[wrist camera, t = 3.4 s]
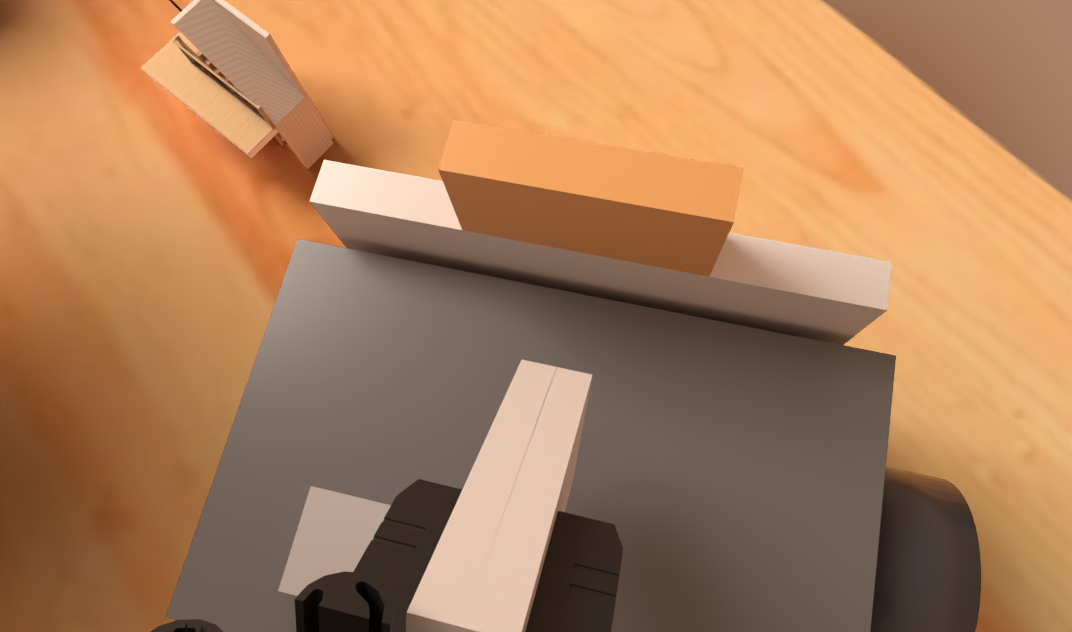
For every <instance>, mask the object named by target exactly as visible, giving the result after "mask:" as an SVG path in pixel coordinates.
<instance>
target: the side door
mask: <svg viewBox="0 0 1072 632" xmlns="http://www.w3.org/2000/svg"><path fill="white" fill-rule="evenodd" d="M438 170H439V173H440V175H441V178H442V180H443V181H440V180H435V179H429V178H424V177H418V176H412V175H407V174H401V173H396V172H390V171H385V170H379V169H374V168H368V167H362V166H357V165H351V164H346V163H340V162H335V161H329V160H324V161H323V164H322V167H321V169H320V172H319V175H318V178H317V181H316V184H315V186H314V189H313V192H312V195H311V198H310V201H309V202H310V203H311V204H312V205H313V207H314V208H315V209H316V210H317V212H318V213H319V214H320V215H321V217H322V218H323V219H324V220H325V222H326V223H327V224H328V225H329V227H330V228H331V229H332V230H333V231H334V233H335V234H336V235H337V236H338V238H339V239H340V240H341V241H342V243H343V244H344V245H345V246H346V248H348V249H354V250H359V251H364V252H369V253H374V254H379V255H384V256H389V257H394V258H399V259H405V260H410V261H415V262H420V263H425V264H430V265H435V266H440V267H445V268H450V269H456V270H461V271H466V272H471V273H476V274H481V275H486V276H491V277H496V278H502V279H507V280H512V281H517V282H522V283H527V284H532V285H537V286H542V287H547V288H553V289H558V290H563V291H568V292H573V293H578V294H583V295H588V296H593V297H598V298H604V299H609V300H614V301H619V302H624V303H629V304H634V305H639V306H644V307H650V308H655V309H660V310H665V311H670V312H675V313H680V314H685V315H690V316H695V317H701V318H706V319H711V320H716V321H721V322H726V323H731V324H736V325H741V326H747V327H752V328H757V329H762V330H767V331H772V332H777V333H782V334H787V335H792V336H798V337H803V338H808V339H813V340H818V341H823V342H828V343H833V344H838V345H844V344H845V343H846V342H847V341H849V340H850V339H851V338H852V337H854V336H855V335H856V334H857V333H859V332H860V331H861V330H863V329H864V328H865V327H866V326H868V325H869V324H870V323H871V322H873V321H874V320H875V319H876V318H878V317H879V316H880V315H882V314H883V313H884V312H885V311H887V305H888V295H889V284H890V274H891V264H892V262H891V261H885V260H880V259H874V258H868V257H863V256H857V255H852V254H846V253H841V252H835V251H830V250H824V249H818V248H813V247H807V246H802V245H796V244H791V243H785V242H779V241H774V240H768V239H763V238H757V237H752V236H746V235H741V234H735V233H729V232H730V230H731V227H732V225H733V223H734V218H735V212H736V206H737V200H738V194H739V188H740V182H741V176H742V170H743V168H740V167H734V166H729V165H723V164H717V163H711V162H705V161H699V160H693V159H687V158H681V157H675V156H669V155H663V154H657V153H651V152H645V151H639V150H633V149H627V148H621V147H615V146H609V145H603V144H598V143H592V142H586V141H580V140H574V139H568V138H562V137H556V136H550V135H544V134H538V133H532V132H526V131H520V130H514V129H508V128H502V127H496V126H490V125H484V124H478V123H473V122H467V121H461V120H455V119H453V122H452V126H451V129H450V132H449V136H448V139H447V142H446V146H445V149H444V152H443V156H442V159H441V162H440V166H439V169H438Z"/></svg>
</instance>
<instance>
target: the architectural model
mask: <svg viewBox="0 0 1072 632" xmlns="http://www.w3.org/2000/svg"><path fill="white" fill-rule="evenodd" d="M169 1H170V2H171V3H172V4H173V5H174V6H175V7H176V8H177V9H178V10H179V11H180V13H179V14H178V15H177V16H176V17H175V18H174V19H172V20H171V21H170V22H171V23H172V24H173V25H174V26H175V27H176V28H177V29H178V30H179V31H180V32H179V33H178V34H175V35H174V38H173V39H171V40H170V41H169V42H168V43H167V44H166V45H165V46H164V47H163V48H162V49H161V50H159V51H158V52H157V53H156V54H155V55H154V56H153V57H152V58H151V59H150V60H148V61H147V62H146V63H145V64H144V65H143V66H142V67H141V69H142V70H143V71H144V72H145V73H146V74H147V75H148V76H150V77H151V78H152V79H153V80H155V81H156V82H157V83H158V84H160V85H161V86H162V87H163V88H165V89H166V90H167V91H168V92H170V93H171V94H172V95H173V96H174V97H176V98H177V99H178V100H179V101H181V102H182V103H183V104H184V105H186V106H187V107H188V108H189V109H191V110H192V111H193V112H194V113H195V114H197V115H198V116H199V117H200V118H202V119H203V120H204V121H205V122H207V123H208V124H209V125H210V126H212V127H213V128H214V129H215V130H217V131H218V132H219V133H220V134H221V135H223V136H224V137H225V138H226V139H228V140H229V141H230V142H231V143H233V144H234V145H235V146H236V147H238V148H239V149H240V150H241V151H243V152H244V153H245V154H246V155H247V156H249V157H250V158H251V159H252V158H253V157H254V156H255V155H256V154H257V153H258V152H259V151H260V150H261V149H262V148H263V147H264V146H265V145H266V144H267V143H268V142H269V141H270V140H271V139H272V138H274V139H276V140H277V141H278V142H279V144H280V145H281V146H282V147H283V146H284V145H285V144H284V142H285V141H286V143H287V144H288V145H289V147H290V148H291V149H292V151H293V152H294V153H295V155H296V156H297V157H298V159H299V160H300V161H301V163H302V164H303V166H304V167H305V168H307V169H309V168H310V167H311V166H312V165H313V164H314V163H315V162H316V161H317V160H318V159H319V158H320V157H321V156H322V155H323V154H324V153H325V152H326V151H327V150H328V149H329V148H330V147H331V146H332V145H333V144H334V143H333V141H332V139H333V138H334V137H333V136H332V134H331V132H330V131H329V129H328V127H327V126H326V124H325V123H324V121H323V119H322V118H321V116H320V115H319V113H318V111H317V110H316V108H315V106H314V105H313V103H312V102H311V100H310V98H309V97H308V95H307V93H306V92H305V90H304V89H303V87H302V85H301V84H300V82H299V81H298V79H297V77H296V76H295V74H294V72H293V71H292V69H291V68H290V66H289V64H288V63H287V61H286V59H285V58H284V56H283V55H282V53H281V51H280V50H279V48H278V47H277V45H276V43H275V42H274V40H273V38H272V37H271V35H270V34H269V33H268V32H266V31H265V30H264V29H262V28H261V27H260V26H258V25H257V24H256V23H254V22H253V21H252V20H250V19H249V18H247V17H246V16H245V15H243V14H242V13H241V12H239V11H238V10H237V9H235V8H234V7H233V6H231V5H230V4H229V3H227V2H226V1H225V0H193V1H192V2H191V3H190V4H189V5H188V6H187V7H186V8H185V9H183V10H181V9H180V8H179V7H178V6H177V5H176V4H175V3H174V2H173V1H172V0H169Z"/></svg>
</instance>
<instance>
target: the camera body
mask: <svg viewBox="0 0 1072 632" xmlns="http://www.w3.org/2000/svg"><path fill="white" fill-rule="evenodd" d="M521 360H527V361H531V362H536V363H541V364H545V365H550V366H554V367H559V368H564V369H568V370H573V371H578V372H582V373H587V374H592V380H591V385H590V391H589V396H588V402H587V407H586V413H585V418H584V424H583V429H582V434H581V440H580V445H579V451H578V456H577V462H576V467H575V473H574V478H573V482H572V486H571V489H570V493H569V497H568V501H567V505H566V509H565V512H566V513H570V514H574V515H578V516H582V517H586V518H591V519H595V520H599V521H603V522H607V523H611V524H615V527H616V530H617V533H618V536H619V538H620V541H621V544H622V547H623V554H622V561H621V568H620V575H619V582H618V589H617V596H616V603H615V609H614V616H613V623H612V630H611V632H975V629H976V625H977V619H978V612H979V604H980V593H981V563H980V551H979V543H978V537H977V532H976V527H975V524H974V520H973V517H972V514H971V511H970V509H969V506H968V504H967V502H966V500H965V499H964V497H963V495H962V494H961V492H960V491H959V490H958V489H957V488H956V487H955V486H954V485H953V484H952V483H950V482H949V481H947V480H943V479H939V478H935V477H930V476H925V475H921V474H916V473H911V472H907V471H902V470H898V469H893V468H888V467H886V457H887V446H888V436H889V425H890V414H891V403H892V392H893V382H894V371H895V360H896V356H895V355H889V354H884V353H879V352H874V351H869V350H864V349H859V348H854V347H849V346H843V345H838V344H833V343H828V342H823V341H818V340H813V339H808V338H803V337H798V336H792V335H787V334H782V333H777V332H772V331H767V330H762V329H757V328H752V327H747V326H741V325H736V324H731V323H726V322H721V321H716V320H711V319H706V318H701V317H695V316H690V315H685V314H680V313H675V312H670V311H665V310H660V309H655V308H650V307H644V306H639V305H634V304H629V303H624V302H619V301H614V300H609V299H604V298H598V297H593V296H588V295H583V294H578V293H573V292H568V291H563V290H558V289H553V288H547V287H542V286H537V285H532V284H527V283H522V282H517V281H512V280H507V279H502V278H496V277H491V276H486V275H481V274H476V273H471V272H466V271H461V270H456V269H450V268H445V267H440V266H435V265H430V264H425V263H420V262H415V261H410V260H405V259H399V258H394V257H389V256H384V255H379V254H374V253H369V252H364V251H359V250H354V249H348V248H343V247H338V246H333V245H328V244H323V243H318V242H313V241H308V240H302V239H298V240H297V243H296V246H295V248H294V251H293V254H292V257H291V260H290V263H289V266H288V268H287V271H286V274H285V277H284V280H283V283H282V285H281V288H280V291H279V294H278V297H277V300H276V303H275V305H274V308H273V311H272V314H271V317H270V320H269V323H268V325H267V328H266V331H265V334H264V337H263V340H262V343H261V345H260V348H259V351H258V354H257V357H256V360H255V363H254V365H253V368H252V371H251V374H250V377H249V380H248V383H247V385H246V388H245V391H244V394H243V397H242V400H241V402H240V405H239V408H238V411H237V414H236V417H235V420H234V422H233V425H232V428H231V431H230V434H229V437H228V440H227V442H226V445H225V448H224V451H223V454H222V457H221V460H220V462H219V465H218V468H217V471H216V474H215V477H214V480H213V482H212V485H211V488H210V491H209V494H208V497H207V499H206V502H205V505H204V508H203V511H202V514H201V517H200V519H199V522H198V525H197V528H196V531H195V534H194V537H193V539H192V542H191V545H190V548H189V551H188V554H187V557H186V559H185V562H184V565H183V568H182V571H181V574H180V577H179V579H178V582H177V585H176V588H175V591H174V594H173V596H172V599H171V602H170V605H169V608H168V611H167V614H166V616H165V617H168V618H172V619H175V620H186V619H201V620H204V621H207V622H210V623H213V624H216V625H217V626H218V627H219V628H220V629H221V630H222V631H223V632H296V616H295V600H294V599H295V598H296V597H297V596H298V595H299V594H300V592H301V591H302V590H303V589H304V588H305V587H306V586H307V585H308V584H310V583H312V582H314V581H316V580H318V579H319V578H321V577H323V576H325V575H330V574H334V573H339V572H344V571H345V572H353V571H354V570H355V568H356V566H357V564H358V563H359V561H360V559H361V557H362V556H363V554H364V552H365V550H366V549H367V547H368V545H369V543H370V542H371V540H373V538H374V535H375V533H376V531H377V529H378V528H379V526H380V524H381V522H383V521H384V517H385V515H386V513H387V512H388V510H389V508H390V506H391V505H392V503H393V501H394V499H395V498H396V496H397V495H398V494H399V493H401V492H402V491H403V490H405V489H406V488H407V487H409V486H410V485H411V484H413V483H414V482H415V481H417V480H418V479H421V480H425V481H430V482H434V483H438V484H442V485H446V486H450V487H454V488H459V489H463V487H464V485H465V483H466V481H467V478H468V476H469V474H470V472H471V470H472V467H473V465H474V463H475V461H476V459H477V456H478V454H479V452H480V450H481V448H482V445H483V443H484V441H485V439H486V437H487V434H488V432H489V430H490V428H491V426H492V423H493V421H494V419H495V417H496V415H497V412H498V410H499V408H500V406H501V404H502V402H503V399H504V397H505V395H506V393H507V391H508V388H509V386H510V384H511V382H512V380H513V377H514V375H515V373H516V371H517V369H518V366H519V364H520V362H521Z"/></svg>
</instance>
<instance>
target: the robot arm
mask: <svg viewBox="0 0 1072 632" xmlns="http://www.w3.org/2000/svg"><path fill="white" fill-rule="evenodd" d="M591 380H592V374H587V373H582V372H578V371H573V370H568V369H564V368H559V367H554V366H550V365H545V364H541V363H536V362H531V361H527V360H521V362H520V364H519V366H518V369H517V371H516V373H515V375H514V377H513V380H512V382H511V384H510V386H509V388H508V391H507V393H506V395H505V397H504V399H503V402H502V404H501V406H500V408H499V410H498V412H497V415H496V417H495V419H494V421H493V423H492V426H491V428H490V430H489V432H488V434H487V437H486V439H485V441H484V443H483V445H482V448H481V450H480V452H479V454H478V456H477V459H476V461H475V463H474V465H473V467H472V470H471V472H470V474H469V476H468V478H467V481H466V483H465V485H464V487H463V489H459V488H454V487H450V486H446V485H442V484H438V483H434V482H430V481H425V480H421V479H418V480H417V481H415V482H414V483H413V484H411V485H410V486H409V487H407V488H406V489H405V490H403V491H402V492H401V493H399V494H398V495H397V496H396V498H395V499H394V501H393V503H392V505H391V506H390V508H389V510H388V512H387V513H386V515H385V517H384V521H383V522H381V524H380V526H379V528H378V529H377V531H376V533H375V535H374V538H373V540H371V542H370V543H369V545H368V547H367V549H366V550H365V552H364V554H363V556H362V557H361V559H360V561H359V563H358V564H357V566H356V568H355V570H354V571H353V572H345V571H344V572H339V573H334V574H330V575H325V576H323V577H321V578H319V579H318V580H316V581H314V582H312V583H310V584H308V585H307V586H306V587H305V588H304V589H303V590H302V591H301V592H300V594H299V595H298V596H297V597H296V598H295V599H294V600H295V616H296V632H611V630H612V623H613V616H614V609H615V603H616V596H617V589H618V582H619V575H620V568H621V561H622V554H623V547H622V544H621V541H620V538H619V536H618V533H617V530H616V527H615V524H611V523H607V522H603V521H599V520H595V519H591V518H586V517H582V516H578V515H574V514H570V513H566V512H565V509H566V505H567V501H568V497H569V493H570V489H571V486H572V482H573V478H574V473H575V467H576V462H577V456H578V451H579V445H580V440H581V434H582V429H583V424H584V418H585V413H586V407H587V402H588V396H589V391H590V385H591ZM151 632H223V631H222V630H221V629H220V628H219V627H218V626H217V625H216V624H213V623H210V622H207V621H204V620H201V619H186V620H177V621H174V622H171V623H168V624H165V625H162V626H159V627H157V628H155V629H154V630H152V631H151Z"/></svg>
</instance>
